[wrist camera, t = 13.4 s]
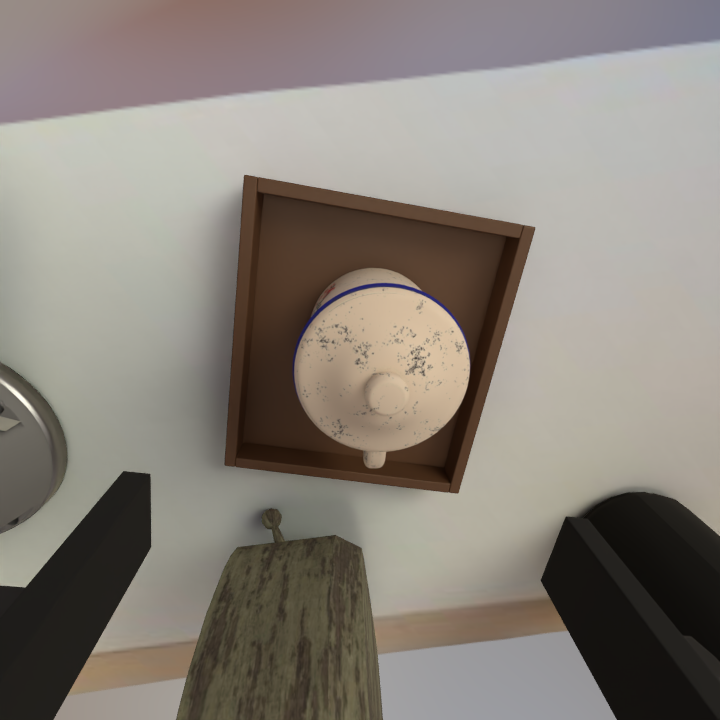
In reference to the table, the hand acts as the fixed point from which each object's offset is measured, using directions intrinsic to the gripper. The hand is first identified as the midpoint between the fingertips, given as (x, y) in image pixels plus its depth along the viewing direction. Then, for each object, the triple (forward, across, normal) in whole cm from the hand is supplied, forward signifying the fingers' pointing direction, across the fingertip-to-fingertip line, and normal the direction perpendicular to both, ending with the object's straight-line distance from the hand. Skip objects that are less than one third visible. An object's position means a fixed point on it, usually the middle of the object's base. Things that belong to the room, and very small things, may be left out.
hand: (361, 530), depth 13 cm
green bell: (+18, 0, -19) cm, 27 cm away
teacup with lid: (+18, +2, +1) cm, 18 cm away
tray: (+18, +1, +1) cm, 18 cm away
